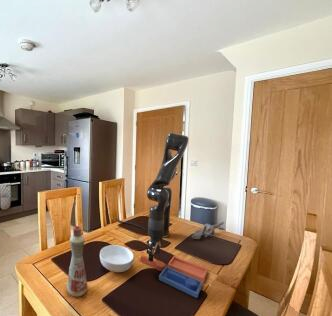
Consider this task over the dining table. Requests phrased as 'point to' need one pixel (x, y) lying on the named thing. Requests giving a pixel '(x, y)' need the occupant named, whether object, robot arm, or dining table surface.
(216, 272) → the dining table surface
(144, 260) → the terracotta spoon
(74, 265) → the bottle
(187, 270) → the terracotta tray
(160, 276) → the blue tray
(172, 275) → the blue spoon
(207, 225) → the spaceship
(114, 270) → the cereal bowl
